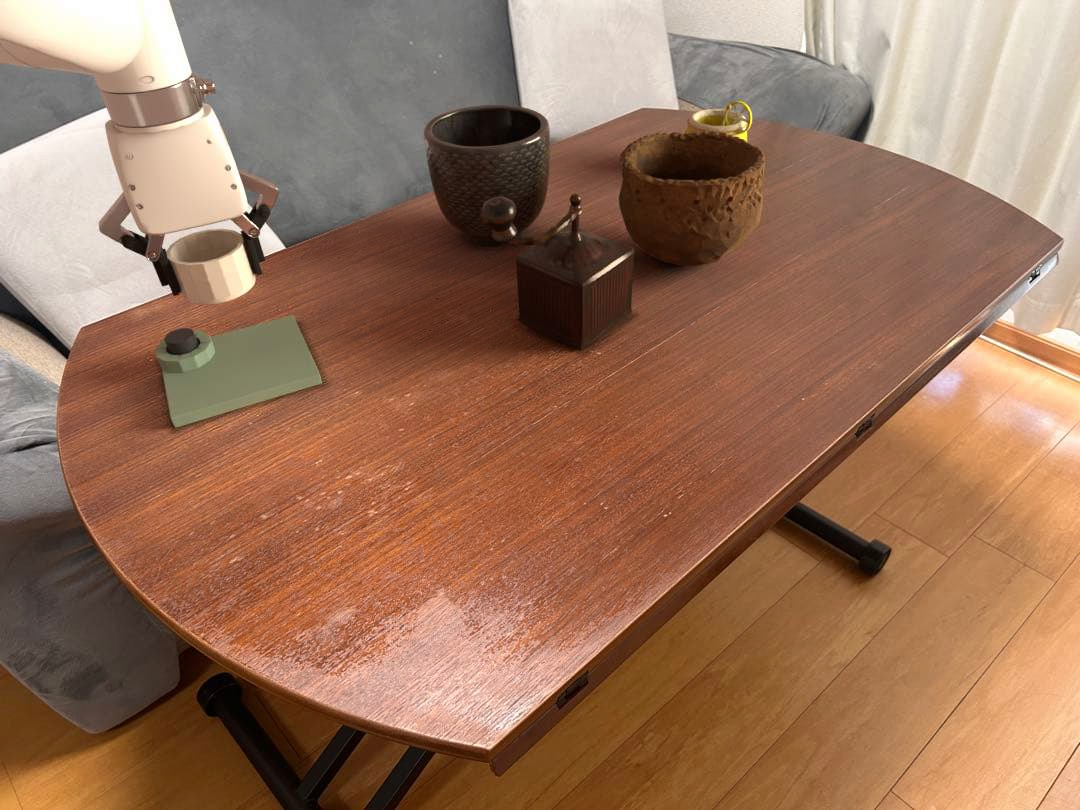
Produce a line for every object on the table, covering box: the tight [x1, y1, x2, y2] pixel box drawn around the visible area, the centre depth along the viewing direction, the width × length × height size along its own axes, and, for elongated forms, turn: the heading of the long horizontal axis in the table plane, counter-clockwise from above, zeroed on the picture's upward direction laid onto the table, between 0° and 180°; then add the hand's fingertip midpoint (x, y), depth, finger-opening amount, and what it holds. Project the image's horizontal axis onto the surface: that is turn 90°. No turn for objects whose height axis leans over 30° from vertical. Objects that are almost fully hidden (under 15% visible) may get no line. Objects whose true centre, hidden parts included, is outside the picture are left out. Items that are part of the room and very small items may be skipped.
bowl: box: [618, 131, 766, 267], centre depth 101 cm, size 19×19×15 cm
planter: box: [423, 104, 551, 247], centre depth 108 cm, size 17×17×16 cm
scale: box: [154, 314, 323, 429], centre depth 87 cm, size 16×14×3 cm
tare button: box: [164, 327, 198, 355], centre depth 87 cm, size 3×3×2 cm
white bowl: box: [166, 228, 257, 305], centre depth 76 cm, size 7×7×4 cm
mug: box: [684, 100, 753, 142], centre depth 125 cm, size 13×11×12 cm
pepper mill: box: [480, 192, 635, 351], centre depth 88 cm, size 16×11×18 cm
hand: (216, 277), depth 77 cm, fingers closed on white bowl, 7 cm apart
